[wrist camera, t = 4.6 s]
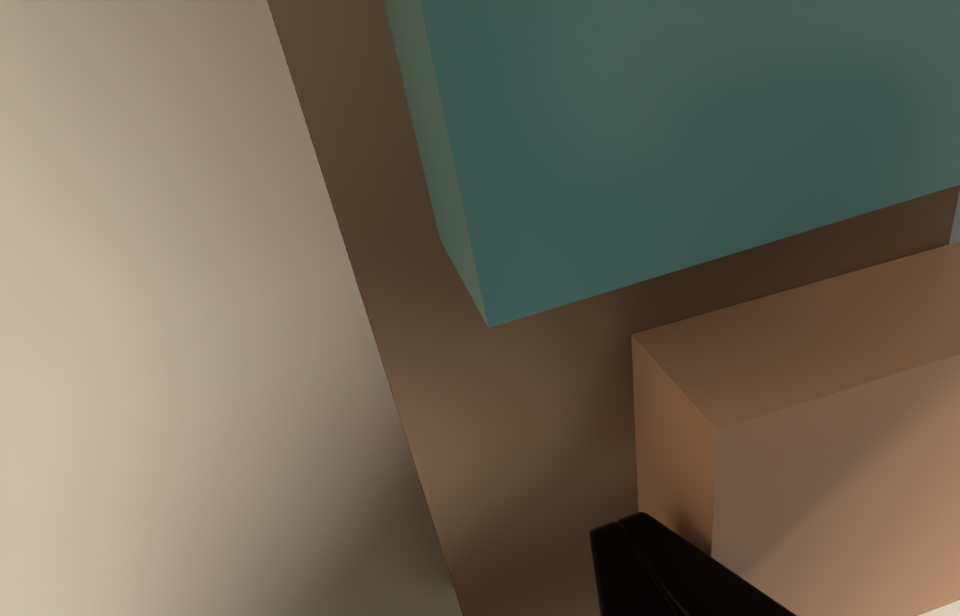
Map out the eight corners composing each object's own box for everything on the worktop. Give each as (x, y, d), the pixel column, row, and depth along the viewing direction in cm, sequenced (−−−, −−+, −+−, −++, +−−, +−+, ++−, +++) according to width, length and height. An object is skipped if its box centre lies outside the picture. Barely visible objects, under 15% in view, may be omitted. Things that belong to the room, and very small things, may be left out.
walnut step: (826, 458, 14) (893, 522, 12) (458, 589, 13) (482, 677, 11) (942, -547, 7) (1136, -689, 5) (134, -438, 6) (83, -577, 4)
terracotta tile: (898, 493, 12) (1000, 584, 10) (641, 581, 11) (705, 695, 10) (959, 241, 9) (1107, 308, 8) (631, 334, 9) (716, 429, 7)
